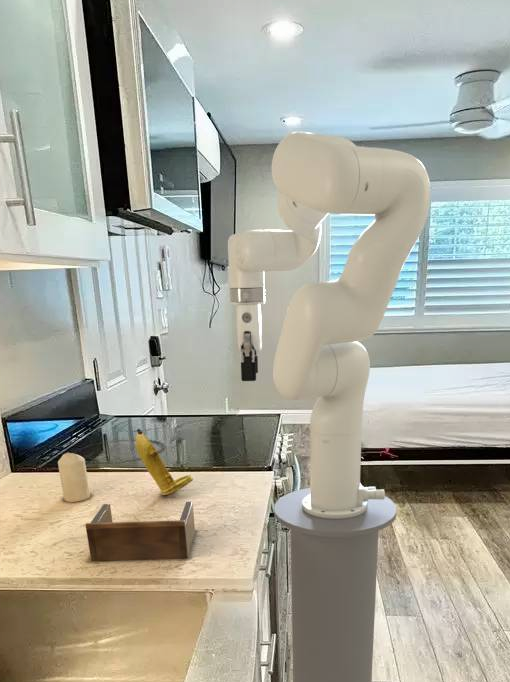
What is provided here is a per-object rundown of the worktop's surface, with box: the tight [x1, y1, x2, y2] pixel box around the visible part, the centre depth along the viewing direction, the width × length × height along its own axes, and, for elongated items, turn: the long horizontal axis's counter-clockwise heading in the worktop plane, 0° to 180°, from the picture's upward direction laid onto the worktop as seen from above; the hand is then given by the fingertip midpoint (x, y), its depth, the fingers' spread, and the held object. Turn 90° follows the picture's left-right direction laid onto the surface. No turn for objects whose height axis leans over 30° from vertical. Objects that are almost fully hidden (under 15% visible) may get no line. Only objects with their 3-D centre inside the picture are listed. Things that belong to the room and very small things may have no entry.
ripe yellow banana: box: [135, 428, 194, 496], centre depth 123 cm, size 12×8×15 cm
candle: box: [57, 452, 91, 503], centre depth 124 cm, size 6×6×10 cm
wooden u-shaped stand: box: [85, 501, 196, 562], centre depth 101 cm, size 16×11×7 cm
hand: (250, 376), depth 130 cm, fingers open, 9 cm apart
